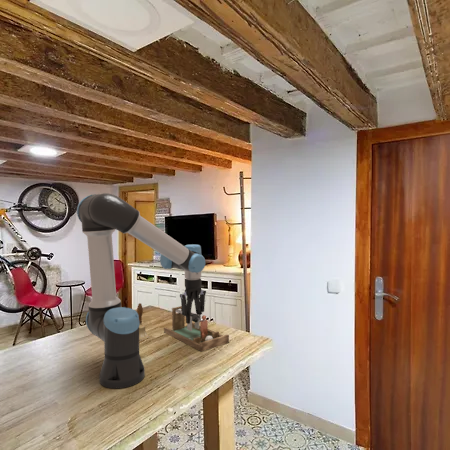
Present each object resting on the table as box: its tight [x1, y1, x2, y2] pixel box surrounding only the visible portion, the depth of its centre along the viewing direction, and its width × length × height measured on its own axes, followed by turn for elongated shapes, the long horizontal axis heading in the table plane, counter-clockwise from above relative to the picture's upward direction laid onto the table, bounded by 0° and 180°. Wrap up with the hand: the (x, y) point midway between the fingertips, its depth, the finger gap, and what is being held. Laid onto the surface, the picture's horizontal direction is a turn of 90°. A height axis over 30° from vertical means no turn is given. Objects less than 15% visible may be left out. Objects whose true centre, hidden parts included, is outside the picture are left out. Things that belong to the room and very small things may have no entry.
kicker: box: [176, 309, 209, 342], centre depth 157 cm, size 3×27×11 cm, turn 40°
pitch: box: [163, 305, 230, 352], centre depth 153 cm, size 15×30×12 cm, turn 40°
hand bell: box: [136, 303, 150, 342], centre depth 156 cm, size 8×8×16 cm
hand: (193, 328), depth 154 cm, fingers closed on kicker, 3 cm apart
